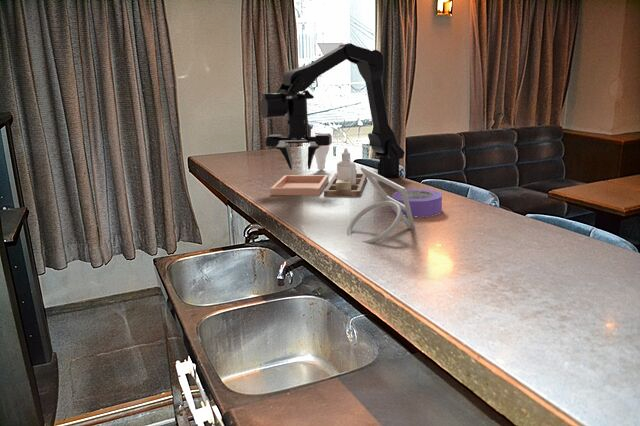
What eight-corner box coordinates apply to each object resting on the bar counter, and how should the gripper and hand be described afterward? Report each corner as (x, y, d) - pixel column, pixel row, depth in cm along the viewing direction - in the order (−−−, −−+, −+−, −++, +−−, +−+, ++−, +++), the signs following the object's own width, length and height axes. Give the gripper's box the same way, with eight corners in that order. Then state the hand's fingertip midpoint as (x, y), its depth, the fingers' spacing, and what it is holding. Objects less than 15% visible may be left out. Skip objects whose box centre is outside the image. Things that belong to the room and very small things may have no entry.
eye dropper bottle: (344, 191, 152) (343, 150, 149) (336, 187, 157) (334, 148, 154) (357, 189, 154) (357, 149, 150) (349, 186, 159) (348, 146, 155)
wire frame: (351, 253, 120) (316, 203, 112) (394, 217, 121) (362, 165, 114) (390, 287, 104) (352, 231, 96) (440, 245, 105) (406, 187, 98)
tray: (328, 182, 164) (328, 175, 163) (319, 197, 147) (319, 188, 146) (284, 183, 166) (284, 175, 165) (270, 197, 149) (270, 188, 148)
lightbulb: (330, 171, 181) (328, 139, 178) (312, 172, 181) (310, 140, 178) (330, 168, 186) (329, 137, 183) (312, 168, 187) (311, 138, 184)
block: (351, 193, 150) (351, 179, 149) (350, 196, 146) (349, 182, 145) (337, 193, 151) (337, 179, 150) (335, 196, 147) (335, 182, 146)
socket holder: (366, 179, 167) (366, 173, 166) (360, 198, 144) (360, 191, 143) (335, 179, 168) (335, 173, 168) (324, 198, 145) (323, 191, 145)
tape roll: (402, 223, 121) (402, 202, 119) (385, 210, 132) (385, 191, 130) (449, 218, 123) (450, 198, 121) (429, 206, 134) (430, 187, 132)
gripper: (333, 112, 156) (335, 163, 161) (272, 113, 160) (275, 164, 164) (328, 116, 146) (330, 171, 150) (263, 117, 149) (266, 171, 153)
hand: (300, 169), depth 155 cm, fingers open, 5 cm apart
